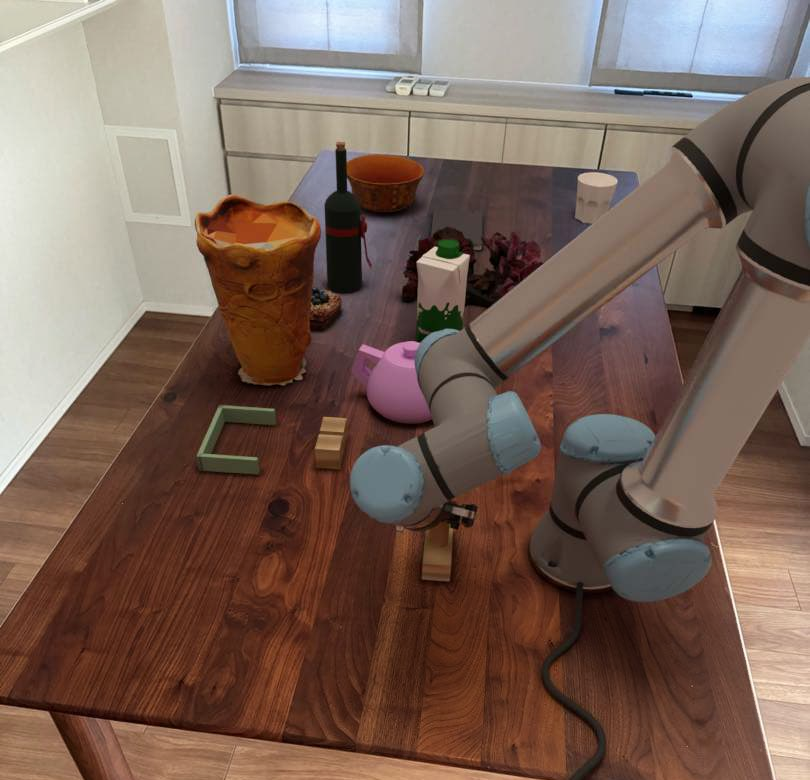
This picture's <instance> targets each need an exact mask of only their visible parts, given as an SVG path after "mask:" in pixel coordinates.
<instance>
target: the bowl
mask: <svg viewBox="0 0 810 780" xmlns="http://www.w3.org/2000/svg"><path fill="white" fill-rule="evenodd" d="M425 171H426V170H425V168H424V166H422V165H421V164H420V163H419V162H417V161H414V160H413V159H410V158H407V157H404V156H399V155H391V154H390V155H389V154H379V153H377V154H364V155H361V156H356V157H354V158H351V159H349V160H347V181H348V182H349V185H350V188H351V193H352V194H354V195H355V196H356V197H357V199H358V201H359V204H360V206H361V207H362V208H363V209H366V210H367V211H368V210H369V211H372V212H377V213H378V212H379V213H394V212H399V211H402V210H405V209H406V208H408V207H410V206H411V205H412V204H413V203H414V201H415V198H416V193H417V191H418V187H419V185H420V182H421V181H422V179H423V178H424V176H425Z"/></svg>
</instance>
